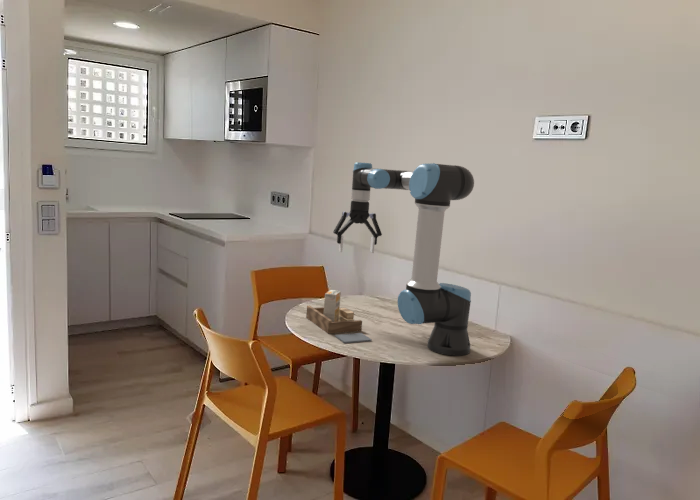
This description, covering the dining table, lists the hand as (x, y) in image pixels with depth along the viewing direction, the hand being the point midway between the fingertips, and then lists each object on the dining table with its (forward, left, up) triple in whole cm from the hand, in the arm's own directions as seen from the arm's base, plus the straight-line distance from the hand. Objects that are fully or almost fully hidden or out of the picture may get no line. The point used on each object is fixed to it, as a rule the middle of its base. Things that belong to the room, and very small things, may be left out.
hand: (356, 252), depth 234 cm
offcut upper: (-11, +8, -24) cm, 28 cm away
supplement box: (-11, +15, -27) cm, 33 cm away
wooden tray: (-11, +14, -27) cm, 32 cm away
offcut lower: (-11, +8, -27) cm, 30 cm away
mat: (-30, +14, -27) cm, 42 cm away
